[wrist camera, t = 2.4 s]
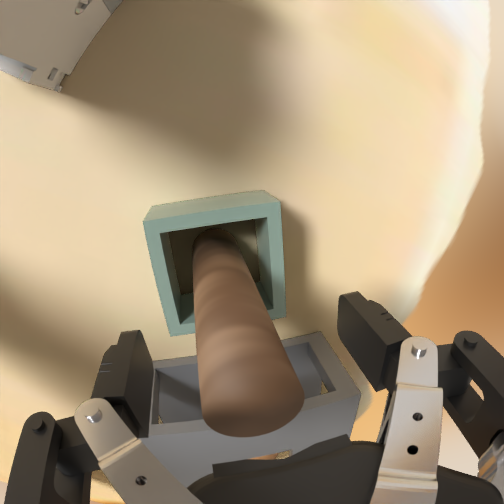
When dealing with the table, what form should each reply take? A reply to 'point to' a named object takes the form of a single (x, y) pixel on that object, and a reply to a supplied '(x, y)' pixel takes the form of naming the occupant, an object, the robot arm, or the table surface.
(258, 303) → the brown rounded rod
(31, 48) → the circuit breaker
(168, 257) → the holder
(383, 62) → the table surface
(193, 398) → the gray open box frame
